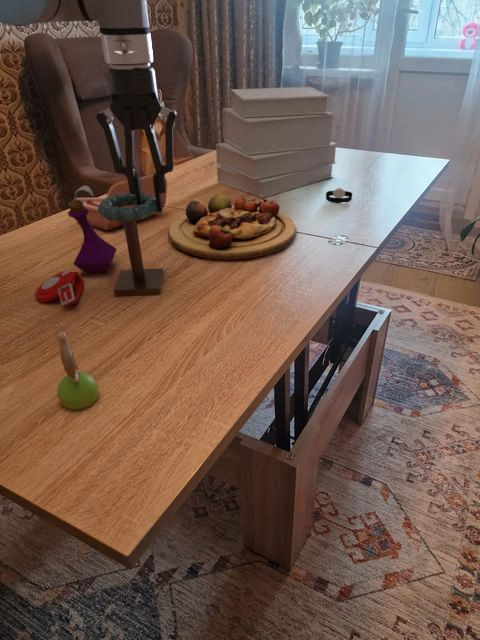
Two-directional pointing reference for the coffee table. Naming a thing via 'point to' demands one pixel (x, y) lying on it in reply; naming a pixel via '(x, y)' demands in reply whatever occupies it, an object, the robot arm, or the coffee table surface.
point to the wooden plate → (232, 228)
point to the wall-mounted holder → (119, 188)
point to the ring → (113, 212)
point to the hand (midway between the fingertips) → (150, 210)
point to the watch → (338, 195)
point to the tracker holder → (61, 288)
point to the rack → (137, 269)
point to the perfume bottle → (90, 241)
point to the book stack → (275, 140)
